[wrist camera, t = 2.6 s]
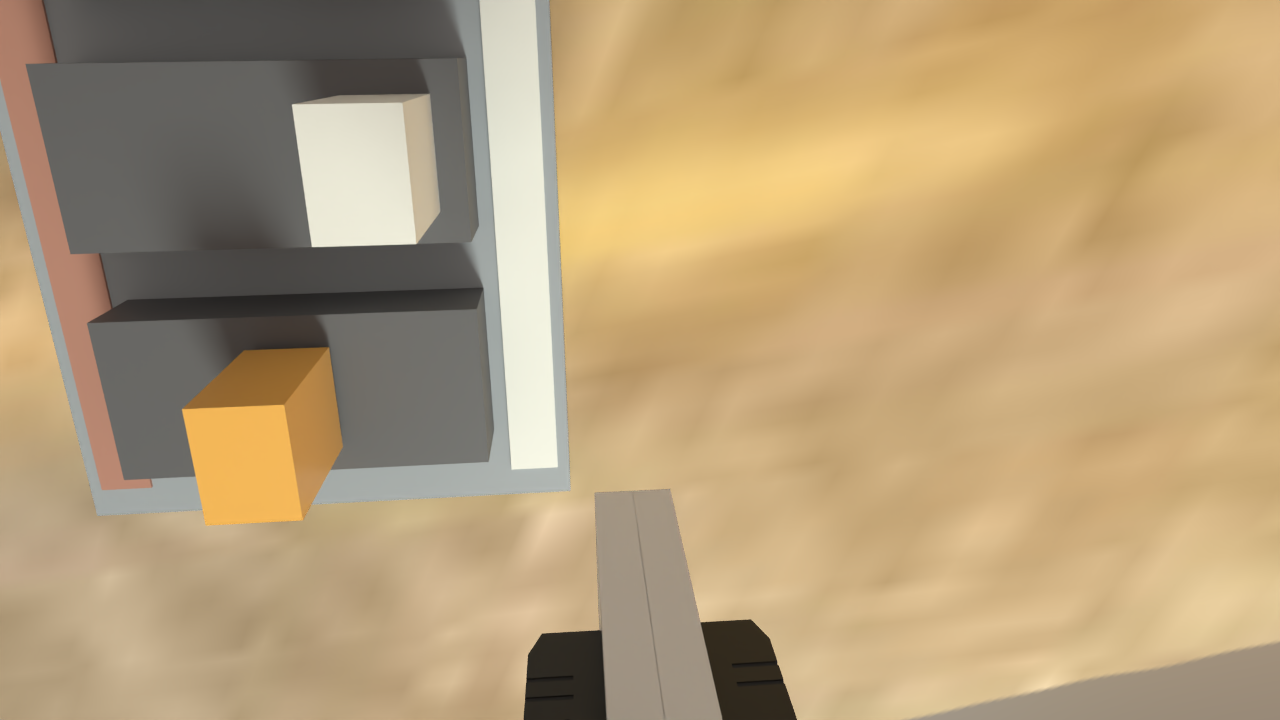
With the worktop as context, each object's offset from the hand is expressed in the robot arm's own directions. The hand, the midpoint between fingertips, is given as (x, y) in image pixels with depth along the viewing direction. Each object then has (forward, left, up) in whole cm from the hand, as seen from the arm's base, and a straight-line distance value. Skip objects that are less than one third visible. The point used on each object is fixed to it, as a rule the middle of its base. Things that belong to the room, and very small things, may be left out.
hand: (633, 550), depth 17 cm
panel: (-9, +7, -14) cm, 18 cm away
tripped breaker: (-9, 0, -10) cm, 13 cm away
